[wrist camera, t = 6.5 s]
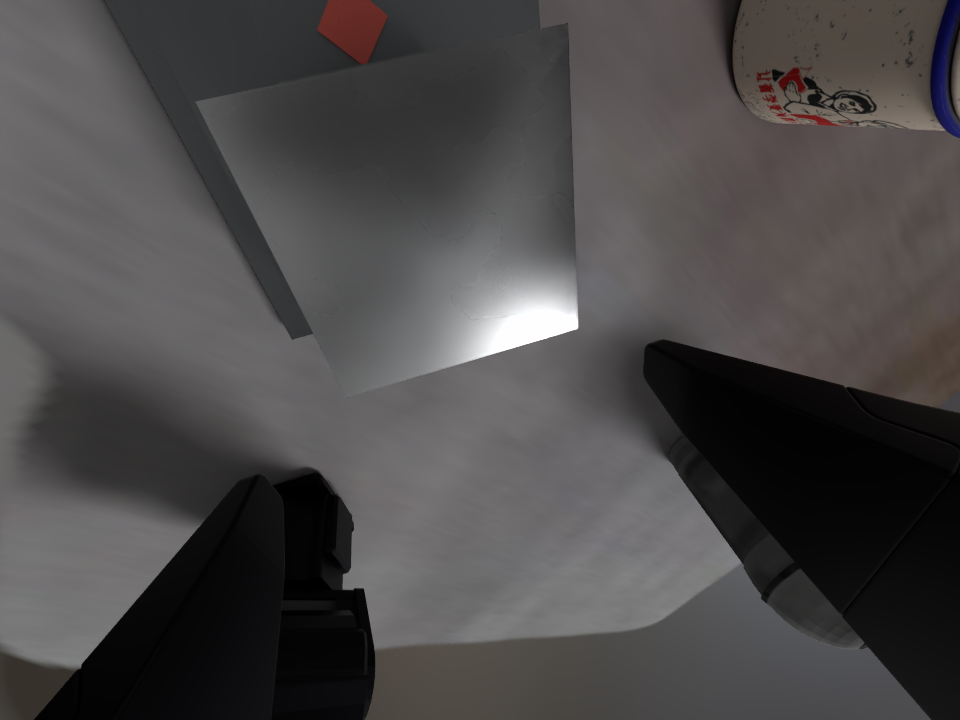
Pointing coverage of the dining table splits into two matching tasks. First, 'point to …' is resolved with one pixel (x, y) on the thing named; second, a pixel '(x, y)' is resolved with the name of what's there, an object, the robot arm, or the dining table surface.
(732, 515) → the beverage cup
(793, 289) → the dining table surface
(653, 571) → the dining table surface
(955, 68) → the teacup with lid
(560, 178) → the column
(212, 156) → the base
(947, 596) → the robot arm
